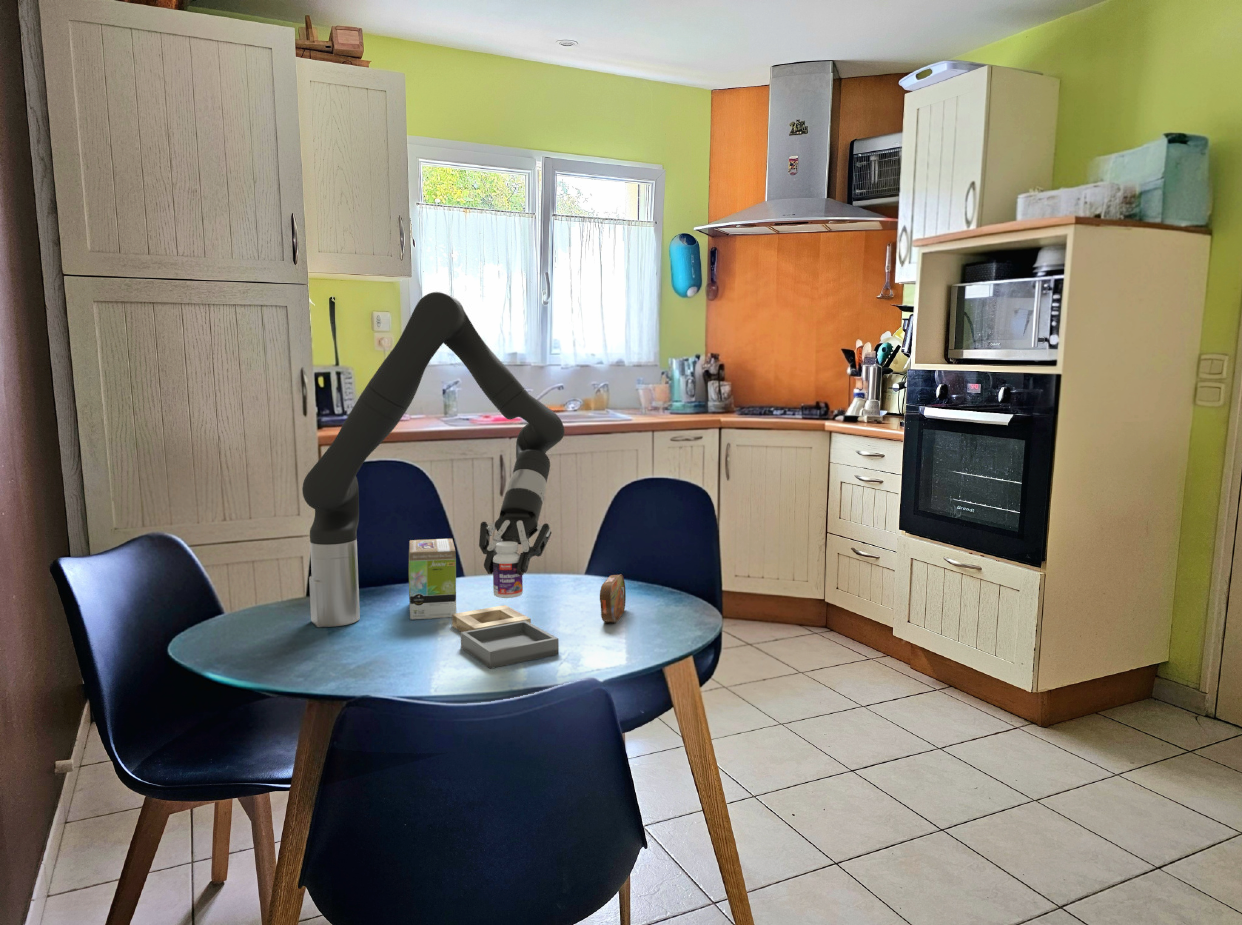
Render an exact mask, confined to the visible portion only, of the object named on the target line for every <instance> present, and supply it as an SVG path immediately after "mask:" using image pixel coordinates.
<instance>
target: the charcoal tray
mask: <svg viewBox="0 0 1242 925" xmlns="http://www.w3.org/2000/svg"><path fill="white" fill-rule="evenodd" d="M559 646H560V645H559V638H558V637H557V636H555V635H553V634H552V633H549V632H547V631H545V630H544V629H541V628H540V627H538V626H536V625H535V624H532V623H529V622H527V621H521V622H515V623H509V624H504V625H498V626H493V627H487V628H482V629H476V630H471V631H465V632H461V631H460V648H461V649H462V650H464V651H465V652H466V653H468V654H469V655H471V656H472V657H473V658H474V659H476V660H477V661H479V663H481V664H483V665H484V666H486V667H487V668H489V669H490V670H492V669H495V668H500V667H501V668H502V667H505V666H509V665H510V666H511V665H514V664H518V663H519V664H520V663H525V662H529V661H534V660H537V659H542V658H543V659H544V658H548V657H552V656H556V655H560V654H559V653H560V652H559V650H560V648H559Z"/></svg>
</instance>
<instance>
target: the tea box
mask: <svg viewBox="0 0 1242 925" xmlns="http://www.w3.org/2000/svg"><path fill="white" fill-rule="evenodd" d="M456 553H457V552H456V547H455V544H454V540H453V538H435V539H433V538H432V539H431V538H429V539H414V540H413V539H412V540H411V539H410V540H409V543H408V597H409V600H408V602H409V618H410V620H431V619H444V618H452V614H455V613H457V558H456Z"/></svg>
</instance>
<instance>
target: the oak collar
mask: <svg viewBox="0 0 1242 925" xmlns="http://www.w3.org/2000/svg"><path fill="white" fill-rule="evenodd" d="M521 621H527V622H529V623H531V622H532V621H531V618H530V617H529V616H527V615H526V614H523V613H521V612H520V611H517V610H516V609H514V608H511V607H510V606H507V605H506V604H504V605H498V606H493V607H491V606H490V607H487V608H480V609H474V610H468V611H462V612H456V613H455V614H452V617H451V623H452V624H451V626H452V627H453V628H454V629H456V630H457V631H459V632H460V633H461V632H465V631H471V630H476V629H482V628H487V627H493V626H498V625H504V624H509V623H515V622H521ZM531 624H532V623H531Z"/></svg>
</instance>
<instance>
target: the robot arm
mask: <svg viewBox="0 0 1242 925" xmlns="http://www.w3.org/2000/svg"><path fill="white" fill-rule="evenodd" d="M443 344H444V345H445V346H446V347H447V349H450V350H451V351H452V352H453V353H454V354H455V355H456V357H457V358H459V360H460V361H461V362H462V363H463V365H464V366H465V367H466V369H467V370H468V372H469V373H470V374H471V376H472V377H473V379H474V380H475V382H476V384H477V385H478V386H479V388H480V389H481V391H482V392H483V393H484V395H485V396H486V397H487V399H488V400H489V401H490V402H491V403H492V404H493V406H494V407H495V408H496V409H497V410H498V411H499V413H501V415H502V416H503V417H504V418H505V419H507V420H511V421H512V420H514V419H518V418H520V419H521V420H524V421H525V422H527V424H526V425H524V426H523V427H522V428H521V430H520V431H519V433H518V435H517V437H516V442H515V458H516V460H515V464H514V466H513V469H512V474H511V477H510V479H509V480H508V484H507V487H506V490H505V494H504V496H503V497H504V498H503V500H502V505H501V508H500V510H499V516H498V518H497V520H496V521H495V522H492V523H488V522H486V521H481V522H480V529H479V538H478V539H479V541H478V543H479V544H478V546H479V547H478V548H480V550H481V553H482V554H483V555H485V560H484V562H483V567H484V570H485V572H487V575H493V557H494V556H495V555H496V554H498V552H497V551H496V544H497V543H499V542H506V541H511V542H517V543H518V545H520V546H521V549H522V552H520V553H519V554H520V558H519V562H518V566H517V572H518V574H519V575H522V576H524V575H525V573H527V571H528V570H529V565H530V560H531V559H533V557H541V556H542V554H543V553H544V550H545V548H546V546H547V544H548V542H549V540H550V537H551V535H552V530H551V527H550V524H549V523H544V524H539V523H538V522H539V520H540V516H541V511H542V507H543V504H544V501H545V497H546V496H545V494H546V490H547V488H546V487H547V483H548V478H549V474H550V470H551V462H550V458H549V456H548V455H547V454H546V453H547V452H548V451H549V450H551V449H552V448H553V447H555V446H556V445H557V444H558V443H560V442H561V441H562V439H563V438H564V437H565V427H564V424H563V421H562V420H561V418H560V417H559V415H558V414H557V413H556V412H554V410H552V409H551V408H550V407H548V406H546V405H545V404H544V403H542V402H541V401H539V400H538V399H536V398H535V397H534V396H533V395H531V394H530V393H529V392H528V391H527V390H526V389H525V387H524V386H523V385H522V384H521V382H520V381H519V380H518V379H517V377H515V375H514V374H513V373H512V372H511V371H510V370H509V369H508V368H507V366H506V365H504V363H503V362H502V361H501V360H500V359H499V358H498V357H497V356H496V354H495V353H494V352H493V351H492V349H491V348H490V347H489V346H488V345H487V343H485V341H484V340H483V338H482V337H481V336H480V334H479V332H478V331H477V330H476V328H475V327H474V325H473V323H472V321H471V320H470V318H469V316H468V315H467V313H466V311H465V309H464V307H463V305H462V303H461V302H460V301H459V300H458V299H457V298H455V297H454V296H452V295H450V294H448V293H446V292H442V291H432V292H429V293H427V294H426V295H423V296H422V297H421V299H420V300H419V301H417V303H416V305H415V307H414V308H413V311H412V313H411V316H410V318H409V319H408V322H407V323H406V325H405V328H404V329H403V332H402V333H401V335H400V338H398V341H397V342H396V344H395V346H393V349H392V350H390V353H388V355H387V356H386V358H385V359H384V360H383V361H382V363H381V364H380V365H379V367H378V368H377V371H375V373H374V375H373V376H372V377H371V379H370V380H369V382H368V383H367V384H366V386H365V388H364V389H363V390H362V392H361V394H360V395H359V397H358V398H357V401H356V402H355V404H354V406H353V407H352V409H351V410H350V411H349V414H348V416H346V417H347V418H346V419H345V420H344V422H343V424H342V426H341V428H340V430H339V431H338V433H337V435H336V437H335V438H334V440H333V441H332V443H331V444H330V446H329V447H328V448H327V450H326V451H325V452H324V453H323V455H321V457H320V458H319V460H317V462H316V463H315V464H314V465H313V467H312V468H311V469H310V470H309V471H308V472H307V474H306V475H305V477H304V479H303V481H302V482H303V483H302V490H301V491H302V496H303V499H304V502H306V504H307V505H308V506H309V507H310V508H312V509H313V510H314V518H313V522H312V525H311V527H310V529H309V546H310V567H311V568H310V570H311V572H310V573H311V574H310V576H309V578H308V579H309V580H308V582H309V602H310V603H309V605H310V606H309V607H310V621H311V622H312V623H313V624H314V625H315V627H317V628H322V627H327V628H328V627H329V628H330V627H341V626H347V625H351V624H354V623H356V622H358V621H359V620H360V612H361V611H360V610H361V608H360V590H359V564H358V541H357V540H358V538H357V537H358V536H357V535H358V534H357V530H358V527H359V522H360V502H359V501H360V494H359V492H360V491H359V481H358V477H357V474H358V472H359V471H360V469H361V467H362V465H363V464H364V462H365V461H366V460H367V459H368V457H369V456H370V455H371V454H372V453H373V452H374V451H375V449H377V448H378V447H379V446H380V445H381V444H382V442H384V440H385V439H386V438H387V437H388V436H389V435H390V434H391V433H392V431H394V429H395V428H396V426H398V424H399V423H400V421H401V419H402V418H403V416H404V415H405V413H406V412H407V410H408V409H409V408H410V405H411V404H412V402H413V400H414V399H415V396H416V394H417V391H418V389H419V387H420V384H421V381H422V378H423V376H424V373H425V370H426V369H427V366H428V365H429V363H430V362H431V360H432V359H433V357H434V355H436V353H438V351H439V349H440V348H441V347H442V345H443ZM494 531H496V533H495V534H494V536H493V533H494ZM535 534H537V536H536V538H535V540H534V542H533V545H532V546H531V543H530V539H531V538H532V537H533V536H535ZM492 536H493V538H492V541H490V540H491V537H492Z"/></svg>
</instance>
